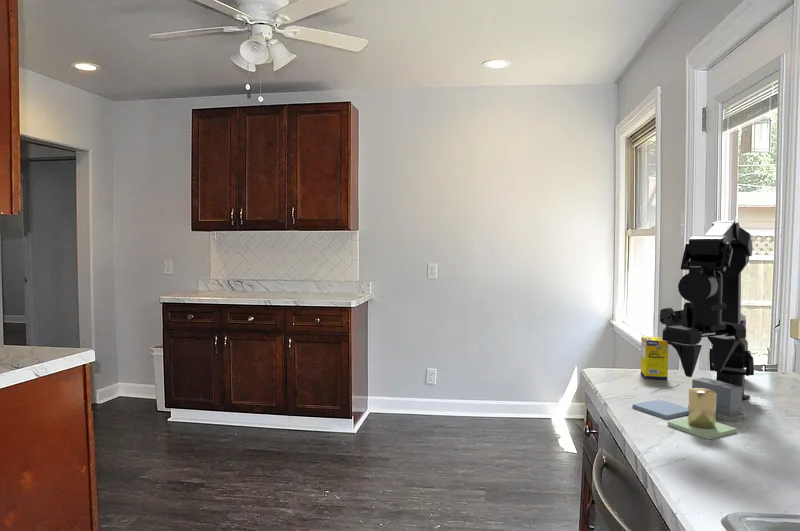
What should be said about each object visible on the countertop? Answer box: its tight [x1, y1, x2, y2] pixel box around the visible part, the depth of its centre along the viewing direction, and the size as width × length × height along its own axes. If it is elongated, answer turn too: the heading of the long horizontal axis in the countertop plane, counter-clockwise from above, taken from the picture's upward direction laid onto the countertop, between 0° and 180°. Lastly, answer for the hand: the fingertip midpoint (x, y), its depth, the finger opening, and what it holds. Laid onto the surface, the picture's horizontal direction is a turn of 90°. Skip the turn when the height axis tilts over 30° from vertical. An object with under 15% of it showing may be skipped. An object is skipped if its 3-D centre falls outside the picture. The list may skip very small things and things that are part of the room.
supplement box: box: [640, 336, 669, 381], centre depth 158 cm, size 6×6×11 cm
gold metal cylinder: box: [687, 387, 717, 429], centre depth 115 cm, size 5×5×7 cm
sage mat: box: [667, 417, 738, 440], centre depth 115 cm, size 9×9×1 cm
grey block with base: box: [691, 377, 746, 423], centre depth 125 cm, size 5×10×7 cm, turn 27°
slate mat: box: [632, 398, 688, 420], centre depth 128 cm, size 9×9×1 cm
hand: (703, 374), depth 115 cm, fingers open, 9 cm apart
